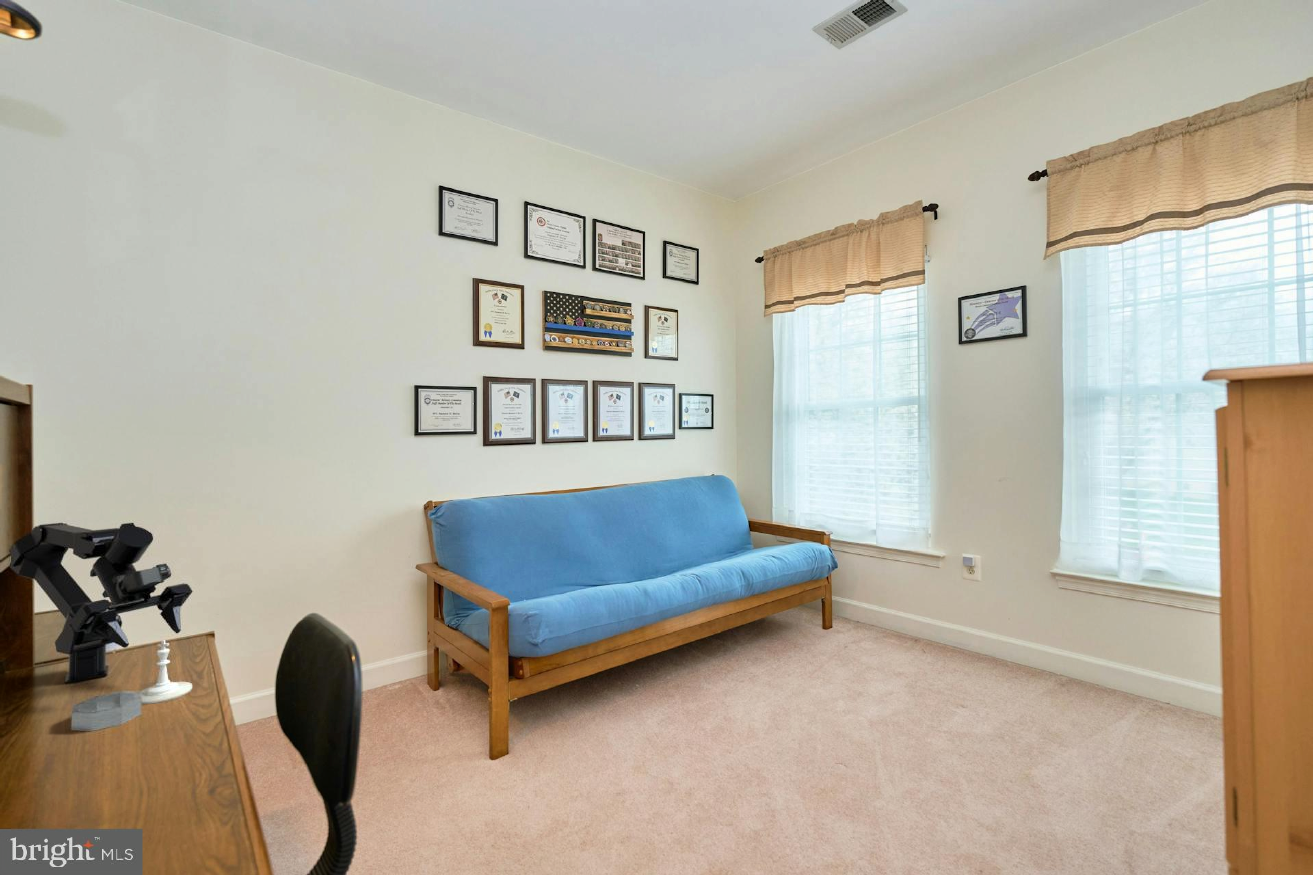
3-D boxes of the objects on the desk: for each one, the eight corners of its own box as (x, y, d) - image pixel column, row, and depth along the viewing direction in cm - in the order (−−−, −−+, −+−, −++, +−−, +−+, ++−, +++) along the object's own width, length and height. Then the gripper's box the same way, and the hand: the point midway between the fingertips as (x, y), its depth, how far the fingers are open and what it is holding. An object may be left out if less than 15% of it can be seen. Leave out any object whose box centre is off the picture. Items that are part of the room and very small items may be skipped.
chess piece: (168, 695, 117) (169, 643, 117) (140, 696, 116) (141, 645, 116) (184, 684, 122) (184, 635, 122) (156, 686, 121) (157, 637, 121)
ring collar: (74, 716, 109) (74, 700, 109) (141, 702, 115) (141, 687, 115) (70, 735, 102) (70, 718, 102) (141, 719, 108) (141, 703, 108)
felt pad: (133, 692, 119) (133, 689, 119) (190, 681, 125) (190, 678, 125) (133, 708, 112) (133, 704, 112) (193, 694, 118) (193, 691, 118)
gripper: (81, 562, 113) (116, 627, 109) (187, 546, 130) (221, 601, 127) (55, 599, 116) (89, 664, 112) (163, 578, 133) (195, 634, 129)
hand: (153, 638), depth 120 cm, fingers open, 9 cm apart
